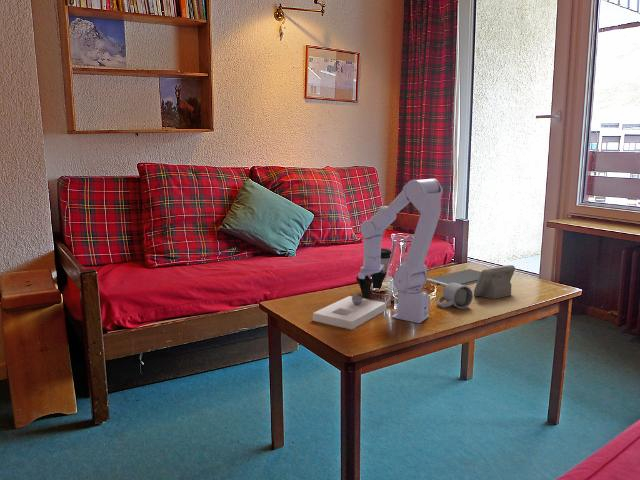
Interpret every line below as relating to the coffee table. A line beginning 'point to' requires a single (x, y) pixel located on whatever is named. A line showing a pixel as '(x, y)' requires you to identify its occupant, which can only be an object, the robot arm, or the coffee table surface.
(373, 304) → the hole plate
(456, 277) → the grey flat slab
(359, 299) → the steel ball
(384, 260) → the coffee cup
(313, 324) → the coffee table surface
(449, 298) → the ceramic mug
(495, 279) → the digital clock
